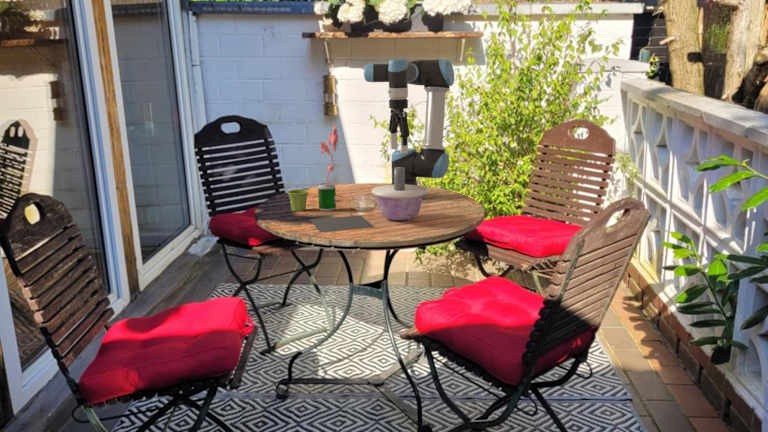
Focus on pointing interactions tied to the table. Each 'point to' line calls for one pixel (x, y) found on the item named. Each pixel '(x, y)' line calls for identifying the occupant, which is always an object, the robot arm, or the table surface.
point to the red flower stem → (325, 148)
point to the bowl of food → (399, 207)
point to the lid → (399, 187)
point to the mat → (341, 223)
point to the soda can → (327, 197)
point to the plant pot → (298, 200)
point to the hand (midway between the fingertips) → (399, 151)
